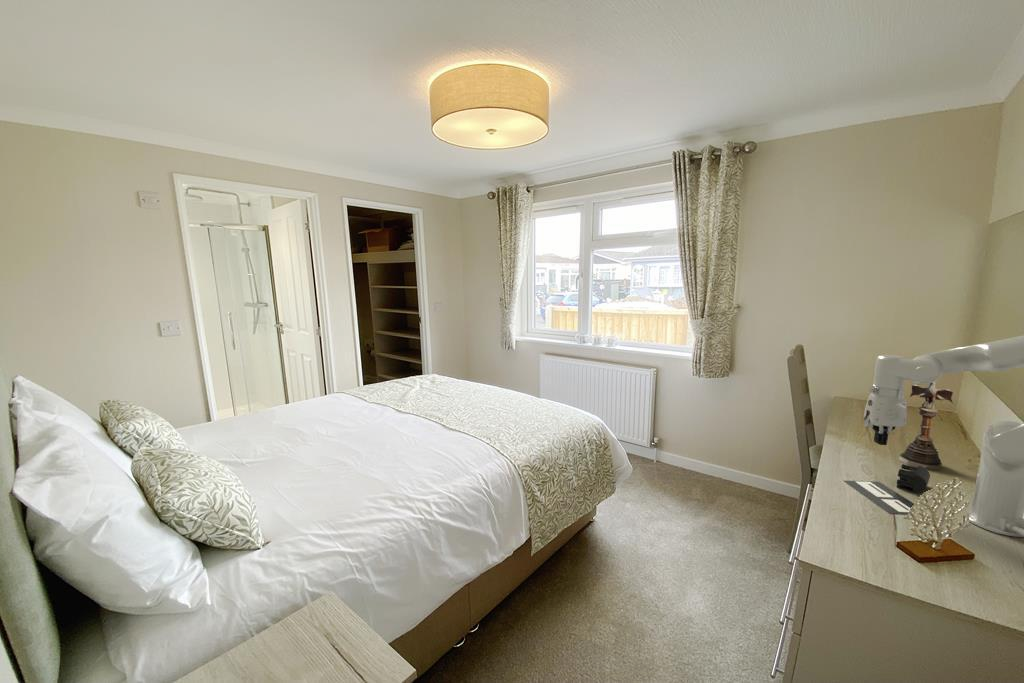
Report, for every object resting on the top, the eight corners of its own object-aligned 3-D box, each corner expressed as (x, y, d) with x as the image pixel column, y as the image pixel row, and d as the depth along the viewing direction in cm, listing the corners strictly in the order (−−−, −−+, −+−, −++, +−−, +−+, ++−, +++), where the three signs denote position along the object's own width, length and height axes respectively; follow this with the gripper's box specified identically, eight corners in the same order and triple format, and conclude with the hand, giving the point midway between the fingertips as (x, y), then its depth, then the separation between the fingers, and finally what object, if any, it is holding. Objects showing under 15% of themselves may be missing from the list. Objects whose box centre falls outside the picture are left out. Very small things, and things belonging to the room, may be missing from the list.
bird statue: (899, 449, 166) (911, 369, 160) (944, 460, 156) (959, 375, 150) (890, 460, 156) (903, 376, 150) (938, 473, 146) (954, 382, 140)
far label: (893, 497, 130) (893, 497, 130) (877, 497, 131) (877, 496, 131) (869, 482, 140) (870, 481, 140) (854, 481, 141) (854, 481, 141)
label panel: (932, 515, 121) (932, 515, 121) (889, 513, 122) (889, 513, 122) (879, 482, 140) (879, 481, 140) (843, 480, 142) (843, 480, 142)
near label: (916, 513, 122) (916, 512, 122) (899, 512, 123) (899, 511, 123) (897, 500, 129) (897, 499, 129) (880, 499, 130) (880, 499, 130)
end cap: (924, 496, 131) (928, 478, 130) (895, 488, 136) (898, 470, 135) (928, 486, 137) (931, 468, 136) (900, 478, 143) (903, 461, 142)
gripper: (871, 394, 127) (864, 447, 130) (922, 395, 125) (914, 449, 128) (854, 388, 134) (848, 438, 137) (902, 388, 133) (894, 439, 136)
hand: (880, 443), depth 133 cm, fingers closed
